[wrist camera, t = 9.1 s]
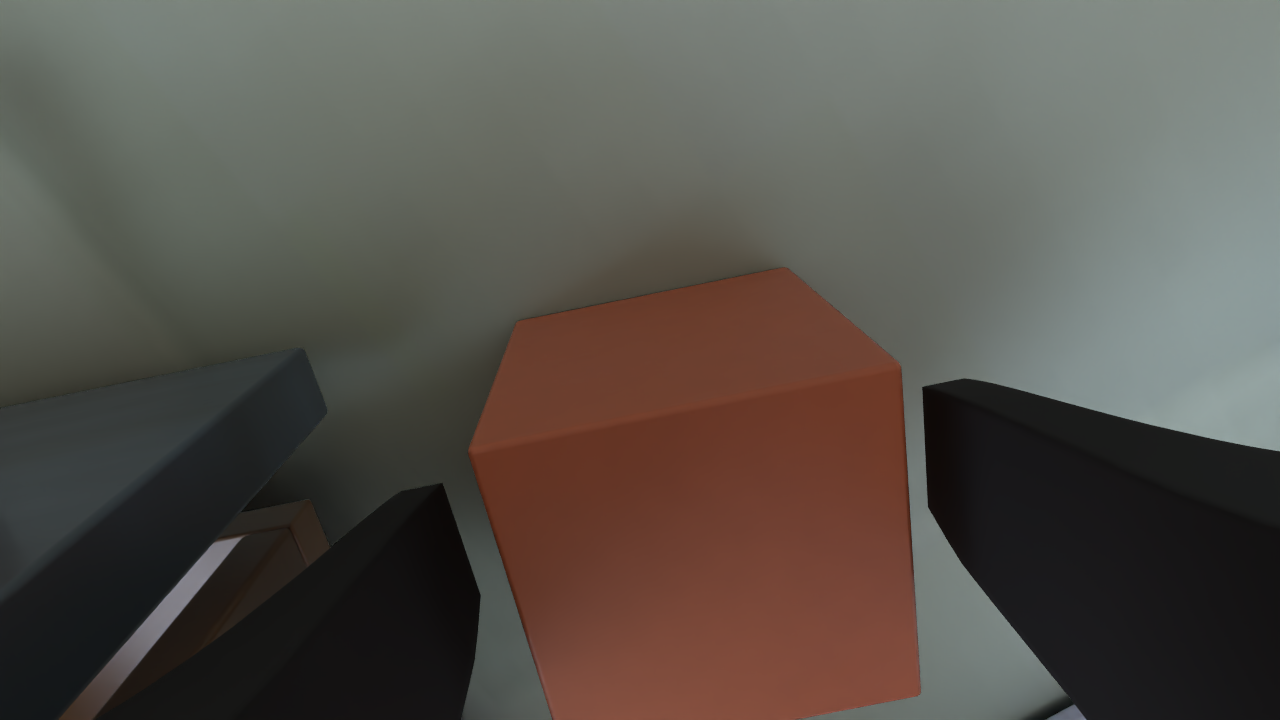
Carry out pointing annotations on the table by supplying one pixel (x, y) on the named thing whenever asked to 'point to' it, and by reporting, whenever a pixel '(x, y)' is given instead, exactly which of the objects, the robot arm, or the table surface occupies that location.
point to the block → (704, 505)
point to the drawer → (144, 527)
